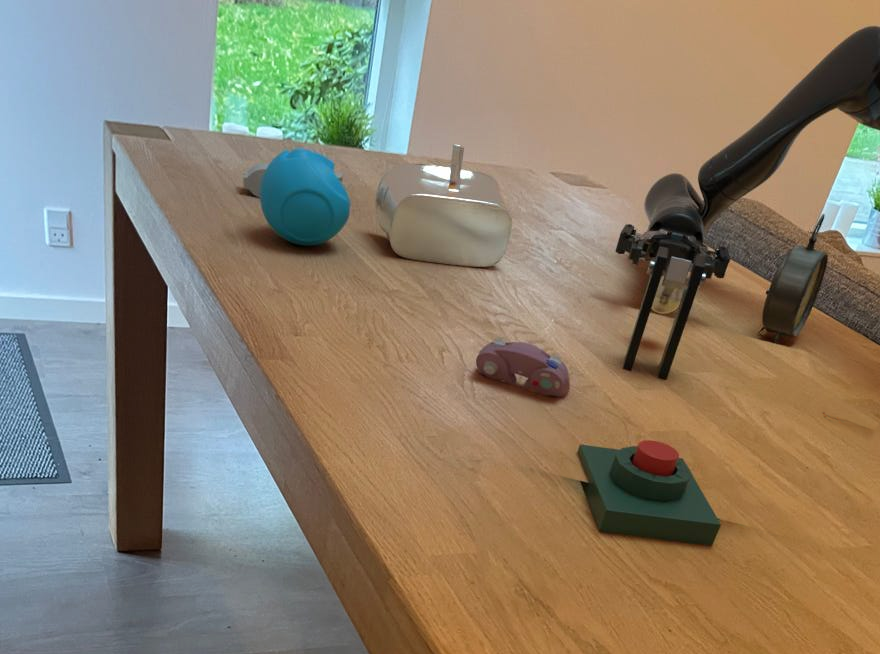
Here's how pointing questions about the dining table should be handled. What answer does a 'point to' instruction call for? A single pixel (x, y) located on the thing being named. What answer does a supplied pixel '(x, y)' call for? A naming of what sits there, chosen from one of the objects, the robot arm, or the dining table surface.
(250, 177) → the bunny figurine
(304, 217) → the teal rounded lump
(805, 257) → the alarm clock
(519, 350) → the video game controller
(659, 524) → the box
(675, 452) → the button
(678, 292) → the lever
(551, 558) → the dining table surface
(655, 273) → the bracket
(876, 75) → the robot arm
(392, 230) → the vr headset
